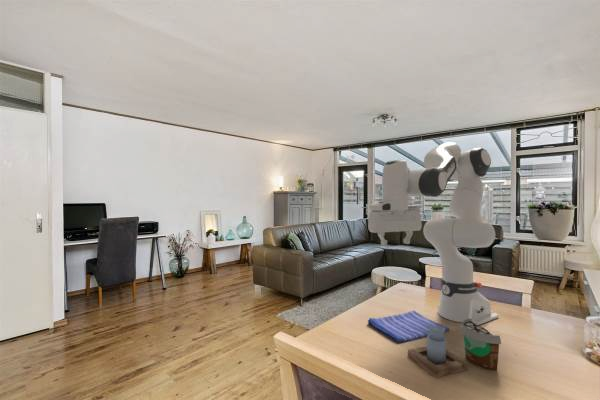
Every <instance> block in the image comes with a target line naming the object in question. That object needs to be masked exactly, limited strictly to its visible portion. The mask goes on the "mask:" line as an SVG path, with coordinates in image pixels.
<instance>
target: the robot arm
mask: <svg viewBox="0 0 600 400" xmlns="http://www.w3.org/2000/svg"><path fill="white" fill-rule="evenodd" d="M491 162H492V159H491V156H490V154H489V152H488V150H486V149H485V148H483V147H475V148H471V149H469V150H466V151H463V152H462V149H461V147H460V146H459V145H458V144H457V143H456V142H453V141H452V142H451V141H447V142H444V143H441V144H438V145H437V146H435V147H433V148H431V149H430V150H429V151H428V152H427V153H426V154H425V156H424V158H423V167H424V168H422V169H421V168H420V169H412V168H411V169H410V168H409V167H408V163H407V161H406V160H404V159H397V160H396V159H395V160H391V161H390V160H389V161H386V162H385V163H384V164H383V168H382V177H381V179H382V180H381V184H382V185H381V186H382V189H383V192H382V200H379V201H377V202H375V203H371V204H370V205H369V210H370V212H369V213H368V219H367V227H368V231H369V232H370V233H373V234H374V233H375V234H376V233H377V236H378V238H379V240H380V245H381V246H388V239H385V233H399V232H400V233H402V232H405V234H406V235H405V237H404V238H403V244H406V245H409V244H410V243H411V238H412V236H413V232H416V231H418V232H419V231H421V230H422V226H423V225H422V224H423V223H422V217H421V216H422V215H421V210H420V208H419V206H417V205H415V204H413V205H412V204H411V205H410V204H409V197H430V198H431V197H432V198H438V197H439V196H441V195H442V194H443V193H444V192H445V191H446V188H447V185H448V182H453V181H455V180H457V185H456V186H455V189H454V191H453V193H452V196H451V199H450V202H449V207H448V208H449V211H450V213H451V215H453V216H454V217H455V218H445V217H444V218H443V217H442V218H441V217H439V218H431V219H429V220H427V221H426V222H425V224H424V226H423V231H422V232H423V236H424V238H425V239H426V240H427V242H429V243H430V244H431V245H432V246H433V247H434V249H435V250H436V252H437V253H438V256H439V258H440V263H441V264H440V265H441V278H440V289H441V291H440V298H439V304H438V310H437V313H438V315H439V316H440V317H442V318H443V319H447V320H450V321H452V322H456V323H457V322H458V323H463V321H464V320H466V319H472V322H473V323H474V324H476V325H478V326H480V325H482V324H484V323H487V322H490V321H493V320H495V319H497V318H498V319H499V315H498V313H497V312H495V311H493V310H492V308H491V303H490V300H489V299H487V298H486V297H485V296H484V295H483V294H482V293H480V292H479V291H478V289H477V288H479V289H481V288H482V287H483V285H482V283H481V282H478V281H475V282H474V264H473V262H472V261H471V259H470V258H468V257H467V256H465V255H463V254H462V253H461V252H460V251H459V250H458V248H457V247H461V248H462V247H463V248H471V249H473V248H474V249H478V248H479V249H480V248H488V247H490V246H491V245H492V244H493V243H494V242H495V239H496V231H495V227H494V226H493V225H492V224H491V223H490V222H489V221H487V220H485V219H484V218H483V217H482V216H481V213H480V211H481V206H482V205H481V204H482V200H483V195H484V184H483V181H482V180H481V178H482V177H485V176H486V175H487V172H488V171H489V170H490V169H489V168H490V167H491V164H492V163H491Z"/></svg>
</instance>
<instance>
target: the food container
mask: <svg viewBox="0 0 600 400" xmlns="http://www.w3.org/2000/svg"><path fill="white" fill-rule="evenodd" d="M460 332H461V333H462V335H463V340H464V341H463V343H464V354H465V359H466V362H468V363H470V364H471V365H473V366H475V367H477V368H479V369H484V370H487V371H488V370H489V371H498V366H499V365H498V364H499V363H498V362H499V352H500V351H499V349H500V345H501V344H502V340H501V336H500V335H495V334H492V333H491V332H490V331H488V330H487V329H486V328H484V327H482V326H480V325H476V324H474V323H473V322H472V319H466V320H464V321H463V322H461V326H460Z"/></svg>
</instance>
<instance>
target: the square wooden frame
mask: <svg viewBox="0 0 600 400" xmlns="http://www.w3.org/2000/svg"><path fill="white" fill-rule="evenodd" d="M407 357H409V358H410V359H411V360H412V361H413V362H415V363H416V364H418V365H419V366H420V367H421V368H422V369H424V370H425V371H427V372H428V373H429V374H430V375H432V376H433V377H434V378H438V377H444V376H446V375H451V374H454V373H455V374H456V373H460V372H464V371H467V370H469V368H468V364H469V362H468V361H465V360H463V359H462V358H460V357H458V356H457V355H456V354H454V353H453V352H451V351H449V350H448V349H446V363H443V364H439V365H436V364H434V363H432V362H431V361H429V360H428V359H427V345H426V346H422V347H416V348H411V349H408V350H407Z"/></svg>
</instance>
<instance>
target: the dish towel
mask: <svg viewBox="0 0 600 400" xmlns="http://www.w3.org/2000/svg"><path fill="white" fill-rule="evenodd" d="M367 323H368V324H370V325H369V326H371V327H372V328H374V329H375V330H377V331H378V332H380V333H381V334H383V335H385V336H386V337H387V338H388V339H390V340H391V341H393V342H395V343H397V344H399V343H404V342H409V341H414V340H418V339H422V338H427V335H429V327H430V326H438V327H441V328H443V329H444V330H445V332H447V331H449V330H450V328H449V327H447V326H445V325H443V324H441V323H438V322H437V321H434V320H432V319H429V318H427V317H425V316H423V315H422V314H420V313H418V312H417V311H415V310H411V311H409V312H405V313H401V314H394V315H389V316H383V317H379V318H378V317H377V318H375V317H373V318H371V317H369V319H368V320H367Z"/></svg>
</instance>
